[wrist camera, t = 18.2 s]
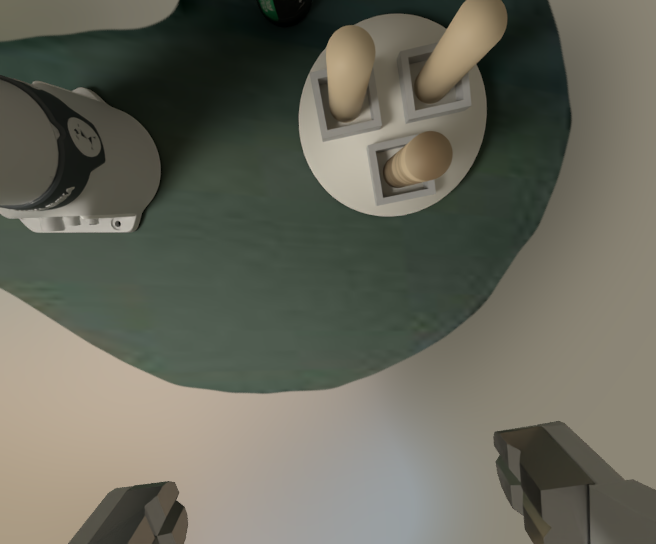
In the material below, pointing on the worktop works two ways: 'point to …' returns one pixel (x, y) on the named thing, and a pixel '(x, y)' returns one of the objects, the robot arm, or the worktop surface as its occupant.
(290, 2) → the supplement bottle
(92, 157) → the robot arm
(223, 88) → the worktop surface
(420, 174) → the stool leg
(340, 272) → the worktop surface
